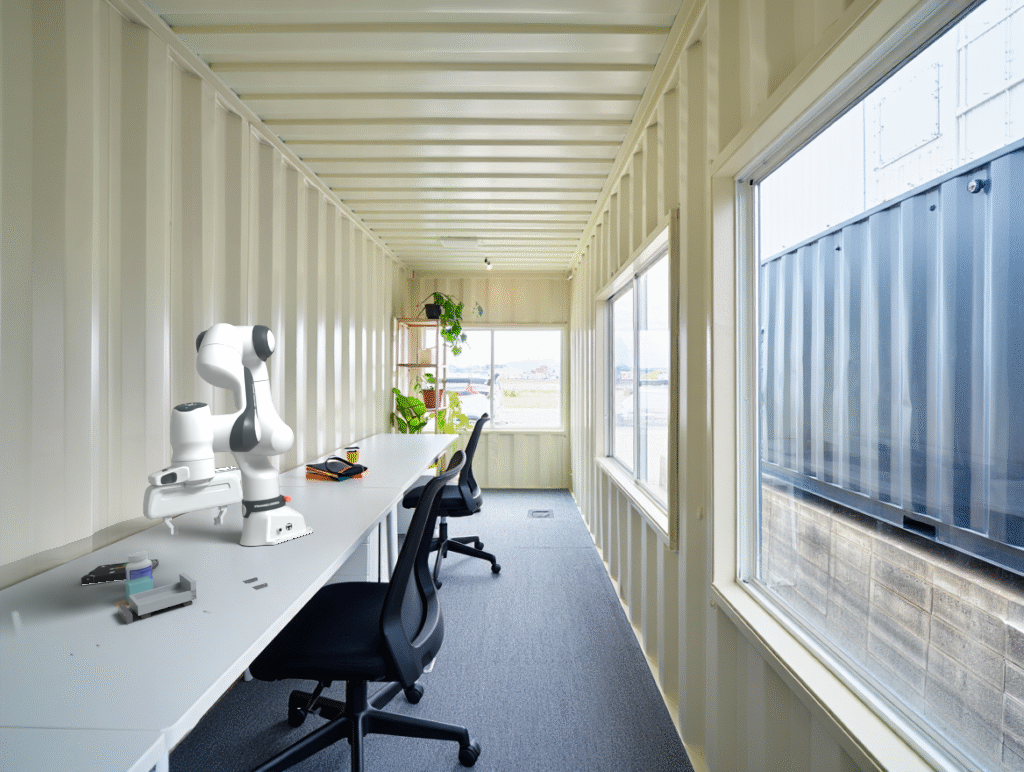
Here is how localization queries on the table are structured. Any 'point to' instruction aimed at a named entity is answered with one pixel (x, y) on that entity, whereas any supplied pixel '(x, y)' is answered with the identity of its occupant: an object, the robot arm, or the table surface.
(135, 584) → the block
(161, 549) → the table surface
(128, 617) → the rails
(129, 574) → the pill bottle
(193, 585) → the grey sliding tray
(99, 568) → the disk drive
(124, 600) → the pad
